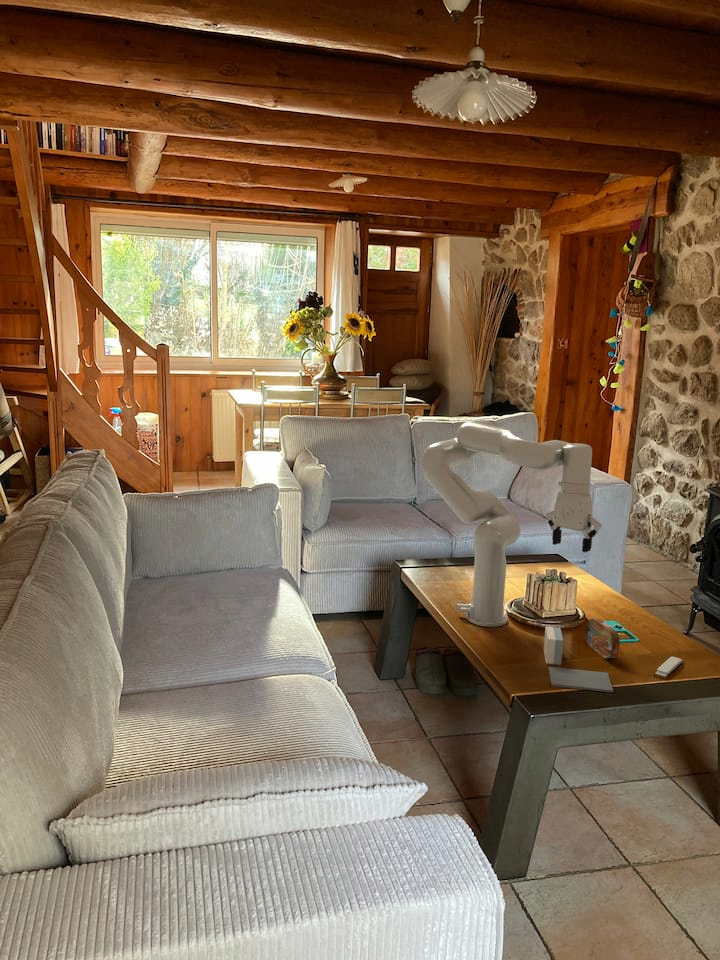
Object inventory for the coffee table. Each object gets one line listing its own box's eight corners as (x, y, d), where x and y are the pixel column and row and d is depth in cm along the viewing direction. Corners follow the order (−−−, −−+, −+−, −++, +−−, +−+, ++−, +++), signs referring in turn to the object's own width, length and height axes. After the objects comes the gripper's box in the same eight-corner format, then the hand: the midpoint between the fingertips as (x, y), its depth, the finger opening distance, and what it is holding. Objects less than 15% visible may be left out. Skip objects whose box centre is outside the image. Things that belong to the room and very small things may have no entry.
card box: (545, 663, 204) (547, 639, 202) (543, 649, 212) (545, 626, 211) (560, 664, 203) (563, 640, 202) (558, 651, 212) (560, 627, 210)
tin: (583, 641, 219) (586, 613, 218) (593, 640, 220) (596, 613, 218) (609, 663, 205) (612, 634, 203) (619, 663, 205) (623, 634, 204)
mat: (551, 685, 191) (551, 683, 191) (548, 668, 200) (548, 666, 200) (613, 692, 188) (613, 690, 188) (607, 674, 198) (607, 672, 198)
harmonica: (671, 660, 209) (672, 653, 209) (683, 664, 207) (684, 657, 207) (652, 677, 198) (653, 670, 198) (664, 681, 196) (665, 674, 196)
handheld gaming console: (615, 620, 235) (640, 639, 220) (615, 623, 235) (640, 643, 220) (590, 620, 233) (613, 640, 219) (589, 623, 234) (613, 644, 219)
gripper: (541, 484, 214) (537, 543, 217) (595, 495, 201) (590, 556, 204) (556, 481, 219) (553, 539, 222) (610, 491, 206) (605, 552, 209)
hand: (571, 547), depth 213 cm, fingers open, 9 cm apart
